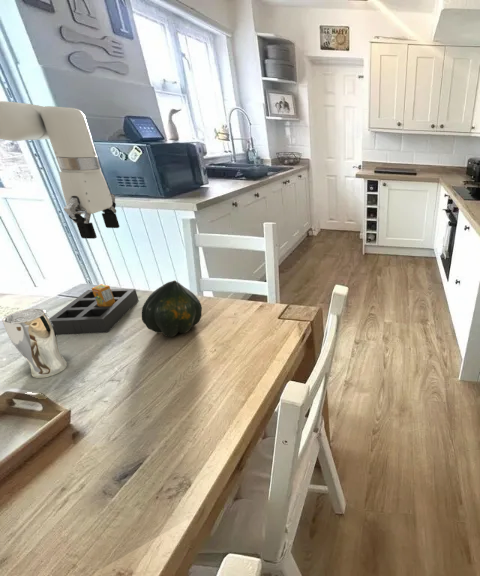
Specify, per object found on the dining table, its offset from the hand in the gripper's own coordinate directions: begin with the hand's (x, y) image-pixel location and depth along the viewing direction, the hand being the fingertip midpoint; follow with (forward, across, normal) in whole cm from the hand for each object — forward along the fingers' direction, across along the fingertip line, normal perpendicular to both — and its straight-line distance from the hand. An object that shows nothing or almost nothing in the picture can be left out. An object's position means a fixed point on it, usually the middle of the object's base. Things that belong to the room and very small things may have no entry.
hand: (101, 232), depth 86 cm
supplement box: (+27, -2, -6) cm, 28 cm away
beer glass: (+27, +23, -6) cm, 36 cm away
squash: (+27, +5, +15) cm, 32 cm away
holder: (+27, -2, -9) cm, 29 cm away
